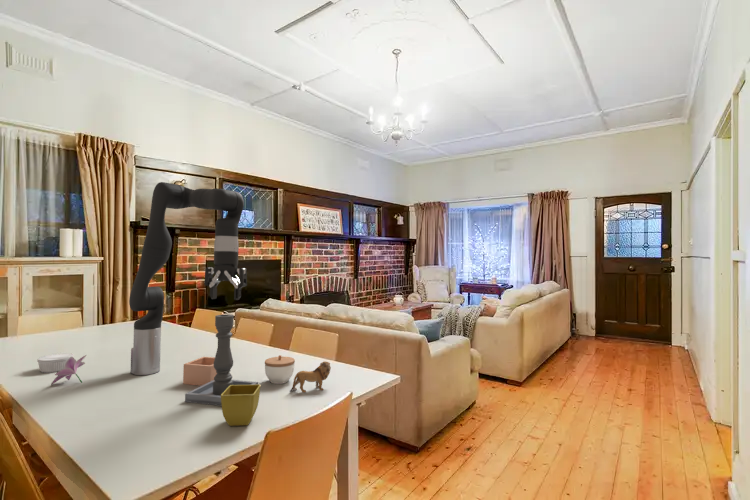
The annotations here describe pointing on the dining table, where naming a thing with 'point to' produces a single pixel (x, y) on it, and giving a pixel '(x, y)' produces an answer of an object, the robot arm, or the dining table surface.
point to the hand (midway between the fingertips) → (225, 299)
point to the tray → (210, 393)
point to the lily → (69, 369)
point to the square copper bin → (199, 371)
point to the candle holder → (223, 354)
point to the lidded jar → (279, 369)
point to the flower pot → (240, 403)
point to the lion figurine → (312, 376)
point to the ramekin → (53, 362)
